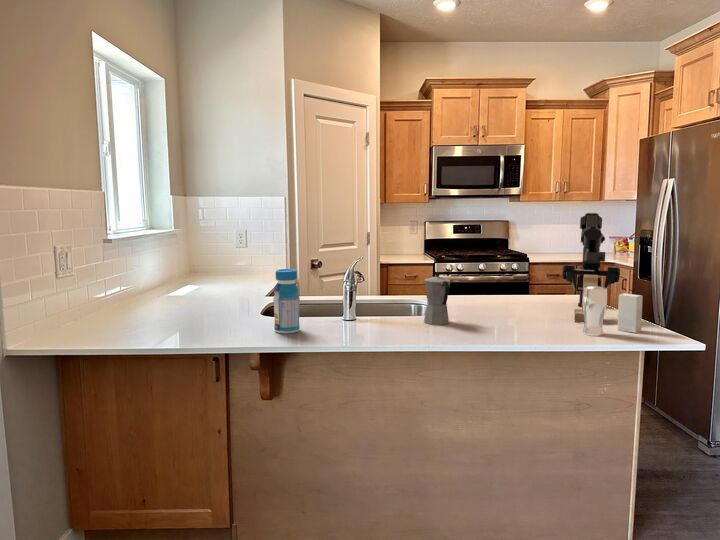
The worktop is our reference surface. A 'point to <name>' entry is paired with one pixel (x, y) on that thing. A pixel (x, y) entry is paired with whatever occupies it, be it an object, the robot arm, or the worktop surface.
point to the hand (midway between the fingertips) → (589, 292)
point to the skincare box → (630, 312)
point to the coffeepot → (436, 300)
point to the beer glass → (594, 309)
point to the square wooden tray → (579, 316)
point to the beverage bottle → (286, 302)
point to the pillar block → (589, 283)
